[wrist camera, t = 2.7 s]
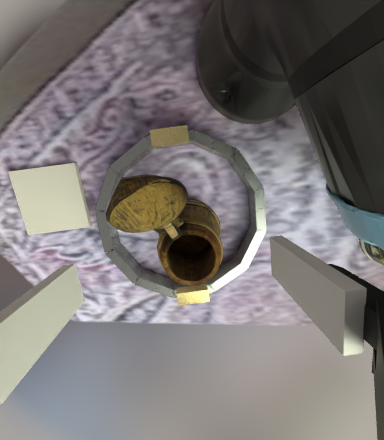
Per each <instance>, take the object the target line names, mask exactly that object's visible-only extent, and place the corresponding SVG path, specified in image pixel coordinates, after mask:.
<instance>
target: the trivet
mask: <svg viewBox="0 0 384 440" xmlns="http://www.w3.org/2000/svg"><path fill="white" fill-rule="evenodd" d="M8 173H9V176H10V179H11V183H12V186H13V189H14V192H15V195H16V198H17V202H18V205H19V208H20V211H21V214H22V217H23V221H24V224H25V227H26V230H27V233H28V235H33V234H41V233H48V232H55V231H63V230H70V229H78V228H85V227H90V226H92V223H91V218H90V214H89V210H88V206H87V202H86V198H85V194H84V190H83V186H82V181H81V177H80V173H79V169H78V165H77V163H70V164H62V165H55V166H47V167H40V168H33V169H25V170H18V171H10V172H8Z"/></svg>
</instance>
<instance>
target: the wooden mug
mask: <svg viewBox="0 0 384 440" xmlns="http://www.w3.org/2000/svg"><path fill="white" fill-rule="evenodd" d="M106 220H107V221H108V222H109V223H110V224H111V225H112V226H113V227H114V228H117V229H119V230H121V231H124V232H131V233H137V232H145V231H149V230H155V231H157V232H158V233H159V236H160V238H159V241H158V245H157V249H158V256H159V259H160V262H161V265H162V266H163V268H164V269H165V271H166V272H167V274H168V276H169V277H170V278H172V279H173V280H174V281H175V282H177V283H180V284H183V285H189V286H199V285H201V284H203V283H205V282H207V281H209V280H210V279H212V278H213V277H214V276H215V274H216V273H217V271H218V269H219V266H220V264H221V260H222V257H223V252H222V243H221V240H220V223H219V220H218V218H217V216H216V214H215V213H214V211H213V210H212V209H211V208H210V207H209V206H207V205H206V204H204V203H202V202H199V201H196V200H188V194H187V191H186V188H185V187H184V185H183V184H182V183H181V182H179V181H178V180H175V179H173V178H169V177H161V176H156V175H139V176H131V177H122V178H121V180H120V181H119V183H118V185H117V187H116V189H115V191H114V193H113V196H112V198H111V201H110V203H109V206H108V208H107V211H106Z"/></svg>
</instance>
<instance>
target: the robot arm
mask: <svg viewBox="0 0 384 440" xmlns="http://www.w3.org/2000/svg"><path fill="white" fill-rule="evenodd" d="M196 69H197V75H198V79H199V83H200V85H201V88H202V90H203V92H204V94H205V96H206V98H207V99H208V101H209V102H210V103H211V105H212V106H213V107H214V108H215V109H216V110H217V111H218V112H220V113H221V114H222V115H224V116H225V117H227V118H229V119H231V120H234V121H237V122H240V123H246V124H257V123H263V122H267V121H270V120H272V119H275V118H277V117H278V116H280V115H282V114H283V113H285V112H286V111H288V110H289V109H291V108H292V107H293V106H295V105H296V106H297V108H298V111H299V113H300V115H301V118H302V120H303V123H304V125H305V128H306V130H307V133H308V136H309V138H310V141H311V143H312V146H313V148H314V151H315V154H316V156H317V159H318V161H319V164H320V166H321V169H322V172H323V174H324V177H325V179H326V182H327V184H326V190H327V193H328V194H329V196H330V197H331V198H332V199H333V200H334V201H335V203H336V205H337V207H338V209H339V211H340V214H341V216H342V218H343V220H344V222H345V224H346V226H347V227H348V228H349V229H350V231H351V232H352V233H353V234H355V235H356V236H357V237H358V238H360V239H361V240H363V241H364V242H366V243H369V244H371V245H374V246H378V247H380V248H381V249H382V250H384V0H213V1H212V3H211V4H210V6H209V8H208V9H207V11H206V14H205V16H204V18H203V21H202V24H201V27H200V30H199V35H198V41H197V51H196ZM270 248H271V266H272V275H273V277H274V278H275V279H276V280H277V281H278V282H279V283H280V284H281V286H282V287H283V288H284V289H285V290H286V291H287V292H288V294H289V295H290V296H291V297H292V298H293V299H294V300H295V302H296V303H297V304H298V305H299V306H300V307H301V308H302V309H303V311H304V312H305V313H306V314H307V315H308V316H309V317H310V319H311V320H312V321H313V322H314V323H315V324H316V325H317V326H318V328H319V329H320V330H321V331H322V332H323V333H324V334H325V335H326V337H327V338H328V339H329V340H330V341H331V342H332V344H333V345H334V346H335V347H336V348H337V349H338V350H339V351H340V352H341V354H342V355H343V356H347V355H354V354H361V353H363V348H364V340H365V341H366V342H368V343H369V344H370V345H371V346H372V347H373V361H372V373H374V385H375V403H376V421H377V438H378V440H384V291H382V290H380V289H378V288H377V287H375V286H373V285H371V284H370V283H368V282H366V281H365V280H363V279H361V278H359V277H358V276H356V275H354V274H352V273H351V272H349V271H347V270H346V269H344V268H342V267H339V266H336V265H333V264H326V263H325V262H323V261H321V260H320V259H318V258H317V257H315V256H313V255H312V254H310V253H309V252H307V251H305V250H304V249H302V248H300V247H299V246H297V245H296V244H294V243H292V242H291V241H289V240H288V239H286V238H284V237H283V236H275V237H270ZM84 301H85V299H84V296H83V292H82V288H81V285H80V281H79V277H78V274H77V270H76V266H75V264H70V265H63V266H62V267H61V268H59V269H58V270H57V271H55V272H54V273H52V274H51V275H50V276H48V277H47V278H46V279H44V280H43V281H42V282H40V283H39V284H37V285H36V286H35V287H33V288H32V289H31V290H29V291H28V292H27V293H25V294H24V295H23V296H21V297H20V298H19V299H17V300H16V301H14V302H13V303H12V304H10V305H9V306H8V307H6V308H5V309H4V310H2V311H1V312H0V404H2V403H3V402H4V400H5V399H6V398H7V397H8V396H9V394H10V393H11V392H12V391H13V389H14V388H15V387H16V385H17V384H18V383H19V382H20V381H21V379H22V378H23V377H24V376H25V374H26V373H27V372H28V371H29V369H30V368H31V367H32V366H33V364H34V363H35V362H36V361H37V360H38V358H39V357H40V356H41V355H42V353H43V352H44V351H45V349H46V348H47V347H48V346H49V345H50V343H51V342H52V341H53V339H54V338H55V337H56V336H57V335H58V333H59V332H60V331H61V330H62V328H63V327H64V326H65V325H66V323H67V322H68V321H69V320H70V318H71V317H72V316H73V315H74V313H75V312H76V311H77V310H78V308H79V307H80V306H81V305H82V303H83V302H84Z"/></svg>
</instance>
